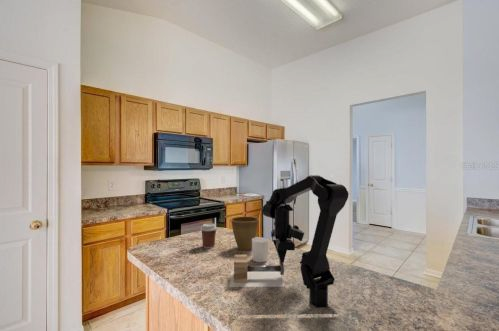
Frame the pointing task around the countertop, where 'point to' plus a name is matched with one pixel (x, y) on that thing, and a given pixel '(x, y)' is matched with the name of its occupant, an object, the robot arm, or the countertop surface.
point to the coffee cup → (208, 235)
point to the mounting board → (259, 280)
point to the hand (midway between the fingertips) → (281, 261)
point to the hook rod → (267, 268)
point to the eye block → (240, 269)
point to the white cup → (260, 249)
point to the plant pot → (244, 231)
